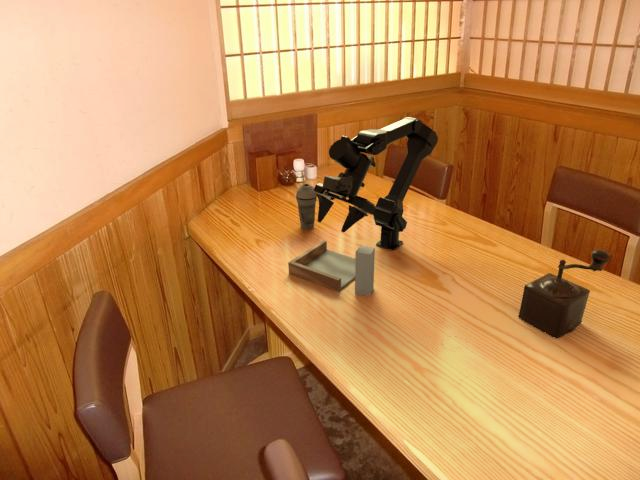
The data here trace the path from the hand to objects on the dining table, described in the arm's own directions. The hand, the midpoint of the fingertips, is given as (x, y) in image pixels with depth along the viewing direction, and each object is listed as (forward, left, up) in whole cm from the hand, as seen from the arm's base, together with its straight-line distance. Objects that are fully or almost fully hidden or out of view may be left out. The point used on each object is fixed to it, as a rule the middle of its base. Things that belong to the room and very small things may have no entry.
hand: (330, 226), depth 126 cm
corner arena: (-3, -1, -15) cm, 15 cm away
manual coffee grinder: (-14, +57, -15) cm, 60 cm away
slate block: (+2, +13, -15) cm, 20 cm away
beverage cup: (-22, -25, -15) cm, 36 cm away
